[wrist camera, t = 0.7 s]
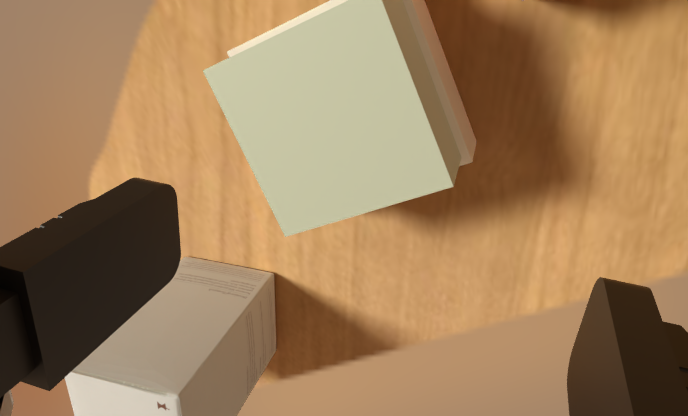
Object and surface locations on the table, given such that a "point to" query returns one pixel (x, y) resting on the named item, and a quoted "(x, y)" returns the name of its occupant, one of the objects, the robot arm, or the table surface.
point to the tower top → (338, 115)
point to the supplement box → (184, 347)
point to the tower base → (434, 61)
